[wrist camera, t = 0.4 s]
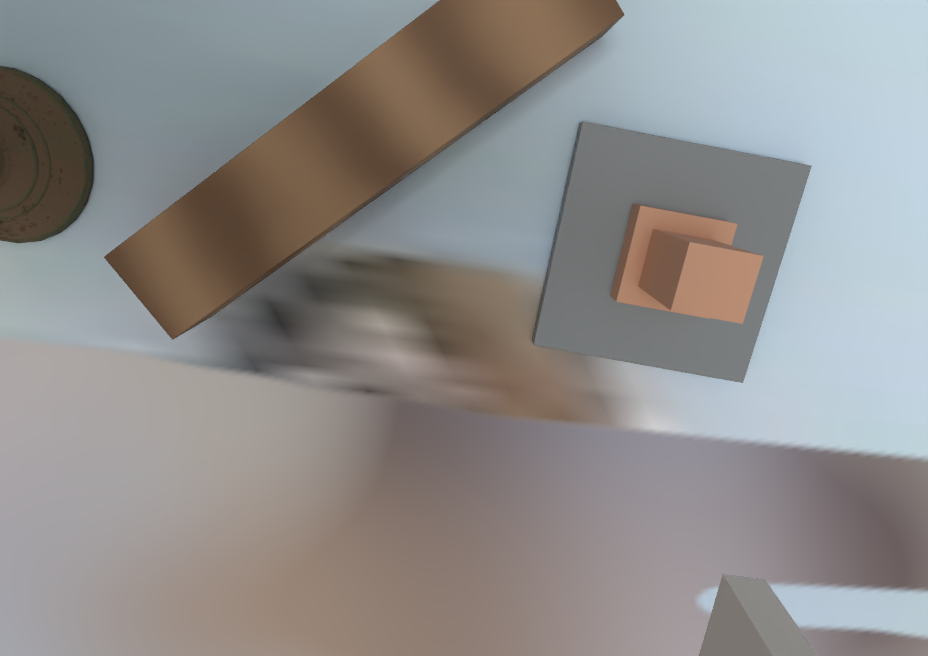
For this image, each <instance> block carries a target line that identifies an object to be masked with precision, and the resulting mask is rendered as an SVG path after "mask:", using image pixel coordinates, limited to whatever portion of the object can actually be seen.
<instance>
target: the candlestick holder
mask: <svg viewBox="0 0 928 656" xmlns="http://www.w3.org/2000/svg"><path fill="white" fill-rule="evenodd" d="M91 185H92V155H91V151H90V147H89V143H88V139H87V136H86V134H85V132H84V130H83V128H82V126H81V124H80V122H79V120H78V118H77V116H76V114H75V113H74V112H73V111H72V110H71V108H70V107H69V106H68V105H67V104H66V102H65V101H64V100H63V99H62V98H61V96H60V95H59V94H57V93H56V92H55V91H53V90H52V89H51V88H49V87H48V86H47V85H46V84H44V83H43V82H42V81H40V80H39V79H37V78H35V77H33V76H31V75H28V74H26V73H24V72H22V71H19V70H17V69H14V68H8V67H2V66H0V240H2V241H8V242H14V243H24V242H33V241H41V240H44V239H46V238H48V237H51V236H53V235H56V234H58V233H60V232H61V231H62V230H64V229H65V228H66V227H67V226H68V225H70V224H71V223H72V222H73V221H74V220H75V219H76V218H77V217H78V215H79V213H80V212H81V210H82V209H83V207H84V206H85V204H86V202H87V199H88V196H89V192H90V189H91Z"/></svg>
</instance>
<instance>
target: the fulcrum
mask: <svg viewBox="0 0 928 656" xmlns="http://www.w3.org/2000/svg"><path fill="white" fill-rule="evenodd" d="M810 169H811V166H810V165H805V164H800V163H795V162H789V161H784V160H779V159H774V158H769V157H763V156H758V155H753V154H748V153H743V152H737V151H732V150H727V149H722V148H717V147H711V146H706V145H701V144H696V143H691V142H685V141H680V140H675V139H670V138H665V137H660V136H654V135H649V134H644V133H639V132H634V131H628V130H623V129H618V128H613V127H608V126H602V125H597V124H592V123H587V122H581V123H580V124H579V128H578V133H577V138H576V142H575V147H574V151H573V156H572V160H571V165H570V169H569V174H568V179H567V183H566V188H565V192H564V197H563V201H562V206H561V210H560V215H559V220H558V224H557V229H556V233H555V238H554V242H553V247H552V251H551V256H550V260H549V265H548V270H547V274H546V279H545V283H544V288H543V292H542V297H541V301H540V306H539V311H538V315H537V320H536V324H535V329H534V333H533V338H532V342H533V345H535V346H541V347H546V348H552V349H557V350H563V351H569V352H574V353H580V354H585V355H591V356H596V357H602V358H608V359H613V360H619V361H624V362H630V363H635V364H641V365H646V366H652V367H658V368H663V369H669V370H674V371H680V372H685V373H691V374H697V375H702V376H708V377H713V378H719V379H724V380H730V381H735V382H741V383H743V381H744V378H745V375H746V371H747V368H748V365H749V362H750V359H751V356H752V352H753V349H754V346H755V343H756V340H757V337H758V333H759V330H760V327H761V324H762V321H763V318H764V315H765V311H766V308H767V305H768V302H769V299H770V296H771V292H772V289H773V286H774V283H775V280H776V277H777V274H778V270H779V267H780V264H781V261H782V258H783V255H784V251H785V248H786V245H787V242H788V239H789V236H790V232H791V229H792V226H793V223H794V220H795V217H796V214H797V210H798V207H799V204H800V201H801V198H802V195H803V191H804V188H805V185H806V182H807V179H808V176H809V172H810Z"/></svg>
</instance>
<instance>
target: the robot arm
mask: <svg viewBox="0 0 928 656" xmlns="http://www.w3.org/2000/svg"><path fill="white" fill-rule="evenodd" d="M699 656H818V655H817V653H816V652H815V650H814V649H813V648H812V646H811V645H810V643H809V642H808V640H807V639H806V638H805V636H804V635H803V633H802V632H801V630H800V629H799V627H798V626H797V625H796V623H795V622H794V620H793V619H792V617H791V616H790V615H789V613H788V612H787V610H786V609H785V607H784V606H783V605H782V603H781V602H780V600H779V599H778V597H777V596H776V595H775V593H774V592H773V590H772V589H771V587H770V586H769V585H768V583H767V582H766V580H765V579H759V578H751V577H743V576H735V575H726V574H723V575H722V579H721V582H720V586H719V589H718V592H717V596H716V599H715V603H714V606H713V609H712V613H711V616H710V620H709V623H708V626H707V630H706V633H705V637H704V640H703V643H702V647H701V650H700V654H699Z"/></svg>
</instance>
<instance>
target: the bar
mask: <svg viewBox="0 0 928 656" xmlns="http://www.w3.org/2000/svg"><path fill="white" fill-rule="evenodd" d="M623 16H624V13H623V12H622V10H621V8H620V6H619V5H618V3H617V1H616V0H440V1H438V2H437V3H436V4H434V5H433V6H432V7H430V8H429V9H428V10H427V11H425V12H424V13H423V14H421V15H420V16H419V17H417V18H416V19H415V20H413V21H412V22H411V23H409V24H408V25H407V26H406V27H404V28H403V29H402V30H400V31H399V32H398V33H396V34H395V35H394V36H392V37H391V38H390V39H389V40H387V41H386V42H385V43H383V44H382V45H381V46H379V47H378V48H377V49H375V50H374V51H373V52H372V53H370V54H369V55H368V56H366V57H365V58H364V59H362V60H361V61H360V62H358V63H357V64H356V65H355V66H353V67H352V68H351V69H349V70H348V71H347V72H345V73H344V74H343V75H341V76H340V77H339V78H338V79H336V80H335V81H334V82H332V83H331V84H330V85H328V86H327V87H326V88H324V89H323V90H322V91H321V92H319V93H318V94H317V95H315V96H314V97H313V98H311V99H310V100H309V101H307V102H306V103H305V104H303V105H302V106H301V107H300V108H298V109H297V110H296V111H294V112H293V113H292V114H290V115H289V116H288V117H286V118H285V119H284V120H283V121H281V122H280V123H279V124H277V125H276V126H275V127H273V128H272V129H271V130H269V131H268V132H267V133H266V134H264V135H263V136H262V137H260V138H259V139H258V140H256V141H255V142H254V143H252V144H251V145H250V146H249V147H247V148H246V149H245V150H243V151H242V152H241V153H239V154H238V155H237V156H235V157H234V158H233V159H232V160H230V161H229V162H228V163H226V164H225V165H224V166H222V167H221V168H220V169H218V170H217V171H216V172H214V173H213V174H212V175H211V176H209V177H208V178H207V179H205V180H204V181H203V182H201V183H200V184H199V185H197V186H196V187H195V188H194V189H192V190H191V191H190V192H188V193H187V194H186V195H184V196H183V197H182V198H180V199H179V200H178V201H177V202H175V203H174V204H173V205H171V206H170V207H169V208H167V209H166V210H165V211H163V212H162V213H161V214H160V215H158V216H157V217H156V218H154V219H153V220H152V221H150V222H149V223H148V224H146V225H145V226H144V227H143V228H141V229H140V230H139V231H137V232H136V233H135V234H133V235H132V236H131V237H129V238H128V239H127V240H125V241H124V242H123V243H122V244H120V245H119V246H118V247H116V248H115V249H114V250H112V251H111V252H110V253H108V254H107V255H106V256H105V257H104V258H105V259H106V260H107V261H108V263H109V264H110V265H111V266H112V267H113V269H114V270H115V271H116V272H117V273H118V275H119V276H120V277H121V278H122V279H123V281H124V282H125V283H126V284H127V285H128V287H129V288H130V289H131V290H132V291H133V293H134V294H135V295H136V296H137V297H138V299H139V300H140V301H141V302H142V303H143V305H144V306H145V307H146V308H147V310H148V311H149V312H150V313H151V314H152V316H153V317H154V318H155V319H156V320H157V322H158V323H159V324H160V325H161V326H162V328H163V329H164V330H165V331H166V332H167V334H168V335H169V336H170V337H171V338H172V340H173V339H174V338H176V337H178V336H179V335H181V334H183V333H185V332H186V331H188V330H190V329H191V328H193V327H195V326H196V325H198V324H200V323H201V322H203V321H205V320H207V319H208V318H210V317H211V316H213V315H214V314H216V313H217V312H218V311H220V310H221V309H223V308H224V307H225V306H227V305H228V304H230V303H231V302H232V301H234V300H235V299H237V298H238V297H239V296H241V295H242V294H244V293H245V292H246V291H248V290H249V289H250V288H252V287H253V286H255V285H256V284H257V283H259V282H260V281H262V280H263V279H264V278H266V277H267V276H269V275H270V274H271V273H273V272H274V271H276V270H277V269H278V268H280V267H281V266H283V265H284V264H285V263H287V262H288V261H290V260H291V259H292V258H294V257H295V256H297V255H298V254H299V253H301V252H302V251H303V250H305V249H306V248H308V247H309V246H310V245H312V244H313V243H315V242H316V241H317V240H319V239H320V238H322V237H323V236H324V235H326V234H327V233H329V232H330V231H331V230H333V229H334V228H336V227H337V226H338V225H340V224H341V223H343V222H344V221H345V220H347V219H348V218H349V217H351V216H352V215H354V214H355V213H356V212H358V211H359V210H361V209H362V208H363V207H365V206H366V205H368V204H369V203H370V202H372V201H373V200H375V199H376V198H377V197H379V196H380V195H382V194H383V193H384V192H386V191H387V190H389V189H390V188H391V187H393V186H394V185H395V184H397V183H398V182H400V181H401V180H402V179H404V178H405V177H407V176H408V175H409V174H411V173H412V172H414V171H415V170H416V169H418V168H419V167H421V166H422V165H423V164H425V163H426V162H428V161H429V160H430V159H432V158H433V157H435V156H436V155H437V154H439V153H440V152H442V151H443V150H444V149H446V148H447V147H448V146H450V145H451V144H453V143H454V142H455V141H457V140H458V139H460V138H461V137H462V136H464V135H465V134H467V133H468V132H469V131H471V130H472V129H474V128H475V127H476V126H478V125H479V124H481V123H482V122H483V121H485V120H486V119H488V118H489V117H490V116H492V115H493V114H494V113H496V112H497V111H499V110H500V109H501V108H503V107H504V106H506V105H507V104H508V103H510V102H511V101H513V100H514V99H515V98H517V97H518V96H520V95H521V94H522V93H524V92H525V91H527V90H528V89H529V88H531V87H532V86H534V85H535V84H536V83H538V82H539V81H540V80H542V79H543V78H545V77H546V76H547V75H549V74H550V73H552V72H553V71H554V70H556V69H557V68H559V67H560V66H561V65H563V64H564V63H566V62H567V61H568V60H570V59H571V58H573V57H574V56H575V55H577V54H578V53H580V52H581V51H582V50H584V49H585V48H587V47H588V46H589V45H591V44H592V43H593V42H595V41H596V40H598V39H599V38H600V37H602V36H603V35H604V34H605V33H606V32H607V31H608V30H609V29H610V28H611V27H612V26H613V25H614V24H615V23H616V22H617V21H618V20H619V19H621V18H622V17H623Z"/></svg>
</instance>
